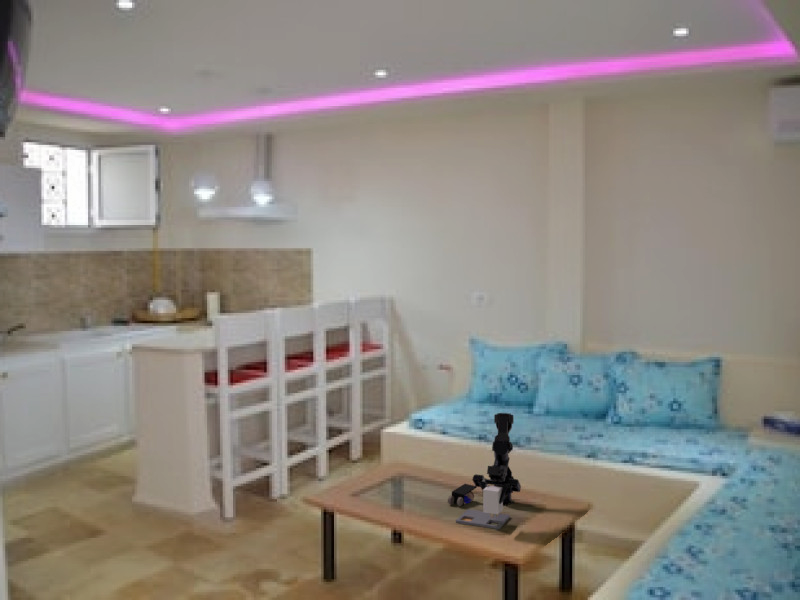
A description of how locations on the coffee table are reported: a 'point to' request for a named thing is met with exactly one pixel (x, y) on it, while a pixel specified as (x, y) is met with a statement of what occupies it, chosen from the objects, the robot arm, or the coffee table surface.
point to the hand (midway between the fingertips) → (491, 502)
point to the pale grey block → (492, 500)
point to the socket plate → (482, 519)
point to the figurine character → (462, 495)
